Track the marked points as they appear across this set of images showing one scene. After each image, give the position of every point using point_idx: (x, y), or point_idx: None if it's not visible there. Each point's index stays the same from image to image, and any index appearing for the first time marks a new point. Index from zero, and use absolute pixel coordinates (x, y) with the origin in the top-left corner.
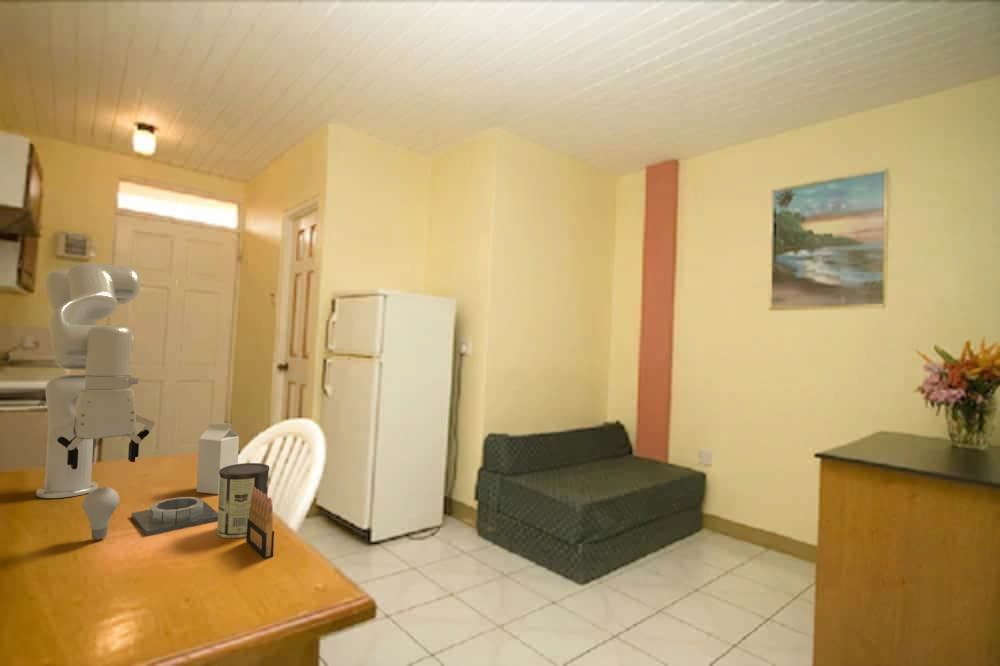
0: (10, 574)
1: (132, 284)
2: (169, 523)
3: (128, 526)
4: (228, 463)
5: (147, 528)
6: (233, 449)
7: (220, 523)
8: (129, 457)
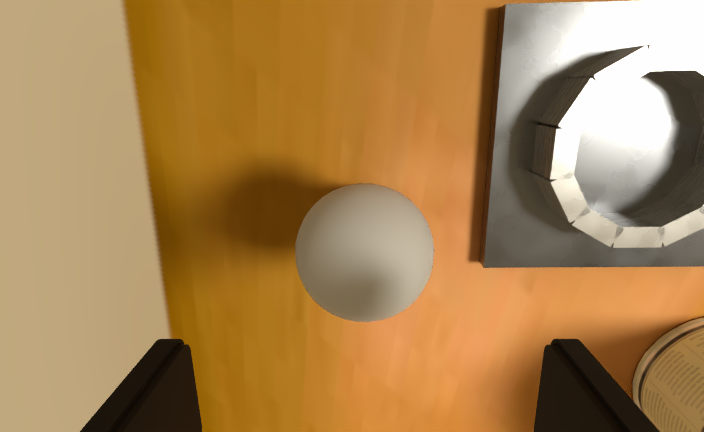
0: (171, 322)
1: None
2: (565, 235)
3: (462, 123)
4: None
5: (495, 240)
6: None
7: (659, 417)
8: (552, 400)
